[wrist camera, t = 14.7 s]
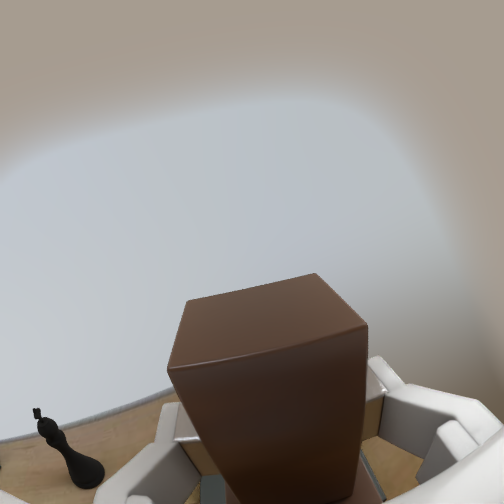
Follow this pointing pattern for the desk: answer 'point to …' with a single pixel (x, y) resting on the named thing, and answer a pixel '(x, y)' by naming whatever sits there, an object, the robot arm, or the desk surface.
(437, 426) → the robot arm
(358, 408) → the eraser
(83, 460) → the chess piece
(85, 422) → the desk surface
